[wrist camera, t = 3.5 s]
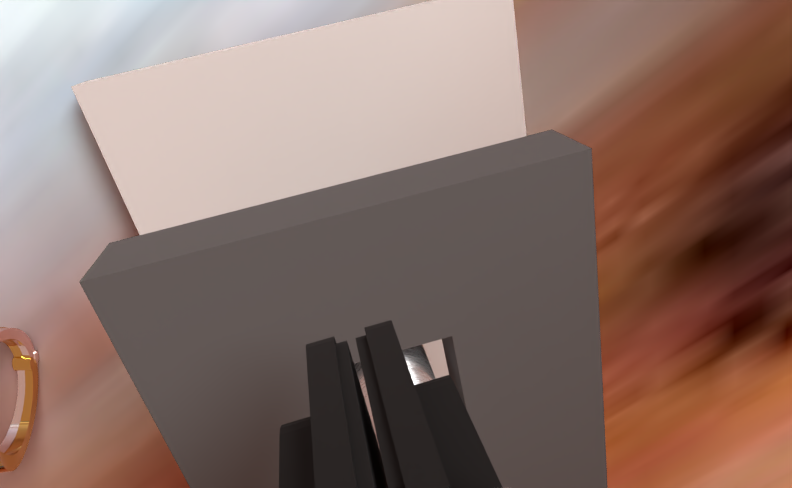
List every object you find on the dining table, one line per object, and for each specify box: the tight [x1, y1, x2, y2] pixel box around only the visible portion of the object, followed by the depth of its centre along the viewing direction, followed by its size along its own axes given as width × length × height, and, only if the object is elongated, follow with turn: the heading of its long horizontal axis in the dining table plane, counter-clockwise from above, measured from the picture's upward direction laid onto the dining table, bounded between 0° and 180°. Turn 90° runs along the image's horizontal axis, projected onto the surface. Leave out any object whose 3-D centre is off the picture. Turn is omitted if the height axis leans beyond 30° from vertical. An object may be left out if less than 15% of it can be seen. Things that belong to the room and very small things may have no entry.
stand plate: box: [72, 0, 527, 378], centre depth 29 cm, size 22×20×2 cm
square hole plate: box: [80, 130, 607, 488], centre depth 18 cm, size 14×14×2 cm
